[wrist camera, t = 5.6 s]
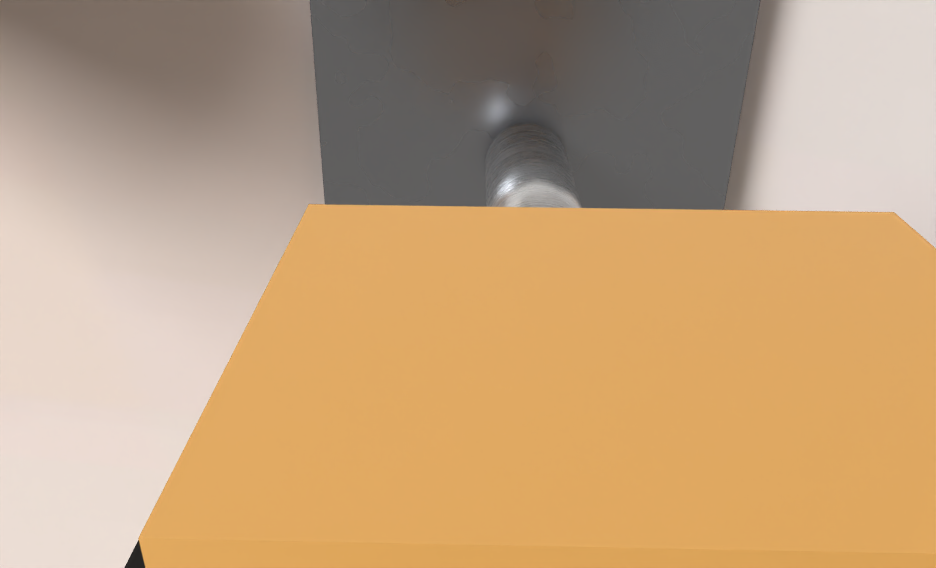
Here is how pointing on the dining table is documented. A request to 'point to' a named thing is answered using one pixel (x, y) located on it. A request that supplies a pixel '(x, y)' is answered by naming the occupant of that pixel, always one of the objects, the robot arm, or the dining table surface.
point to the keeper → (530, 101)
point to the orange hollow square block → (571, 396)
